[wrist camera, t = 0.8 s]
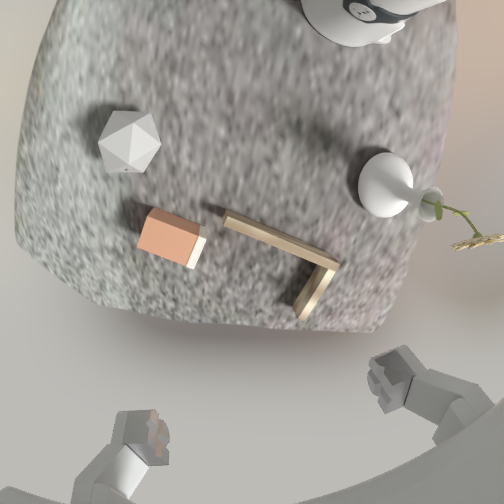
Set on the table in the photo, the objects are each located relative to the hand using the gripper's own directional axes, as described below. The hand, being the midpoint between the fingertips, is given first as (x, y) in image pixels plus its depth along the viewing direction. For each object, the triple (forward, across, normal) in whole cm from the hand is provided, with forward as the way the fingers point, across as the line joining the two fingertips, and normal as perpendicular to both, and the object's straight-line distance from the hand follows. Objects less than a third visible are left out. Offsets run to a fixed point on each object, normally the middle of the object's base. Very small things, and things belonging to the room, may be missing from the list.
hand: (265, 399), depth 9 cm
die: (+37, +11, -12) cm, 40 cm away
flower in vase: (+37, -28, +3) cm, 46 cm away
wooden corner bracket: (+37, -5, +13) cm, 40 cm away
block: (+37, +8, +4) cm, 38 cm away
